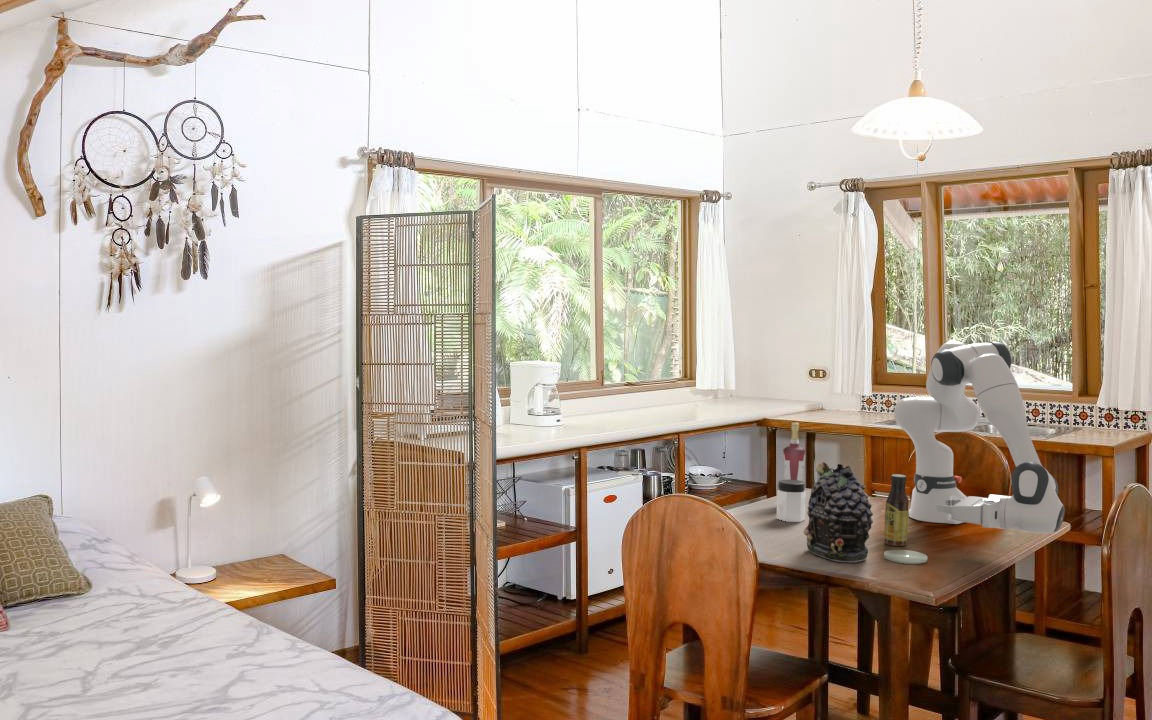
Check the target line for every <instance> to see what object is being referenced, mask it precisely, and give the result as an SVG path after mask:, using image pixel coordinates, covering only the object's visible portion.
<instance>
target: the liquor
mask: <svg viewBox="0 0 1152 720" xmlns="http://www.w3.org/2000/svg"><path fill="white" fill-rule="evenodd" d="M790 430H791V431H790V432H791V433H790V440H789V441H790V443H789V445H788V446H785V447H784V448H783V450H782V453H783V454H782V455H783V458H782V459H783V461H782V463H783V464H782V465H783V466H782V467H783V480H799V481H803V482H804V475H805V474H804V473H805V463H806V462H805V461H806V449H805V448H804V447H802V446H800V441H799V438H800V437H799V430H800V423H799V422H791V423H790Z"/></svg>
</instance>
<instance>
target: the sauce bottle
mask: <svg viewBox="0 0 1152 720" xmlns="http://www.w3.org/2000/svg"><path fill="white" fill-rule="evenodd" d="M890 481H891V487H890V491H889V493H888V496H887V498H886V501H885V511H884V527H883V528H884V530H883V533H884V534H883V538H884V544H886V545H888V546H890V547H904V546H906V545H907V540H908V528H909V527H908V526H909V513H908V512H909V510H910V508H909V502H910V501H909V498H908V496H907V494H906V481H907V476H906V475H904V474H898V473H896V474H895V473H894V474H892V475H891V476H890Z"/></svg>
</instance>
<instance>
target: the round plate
mask: <svg viewBox="0 0 1152 720" xmlns="http://www.w3.org/2000/svg"><path fill="white" fill-rule="evenodd" d="M883 558H884V559H885V560H887V561H889V562H893V563H897V564H903V563H904V564H903V565H922V563H923V564H926V563H928V555H926V554H925V553H923V552H919V551H914V550H908V549H907V550H906V549H889V550H885V551H884V553H883ZM925 562H926V563H925Z"/></svg>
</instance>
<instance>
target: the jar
mask: <svg viewBox="0 0 1152 720" xmlns="http://www.w3.org/2000/svg"><path fill="white" fill-rule="evenodd" d="M776 492H777V493H776V519H777V520H778V519H779V521H781V520H782V521H783V522H785V521H786V523H801V522H803V521H805V520H806V501H807V500H806V499H807V498H806V497H807V490H806V482H805V481H804V480H803V481H799V480H784V479H780V480H779V481H778V489H777V490H776Z"/></svg>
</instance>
